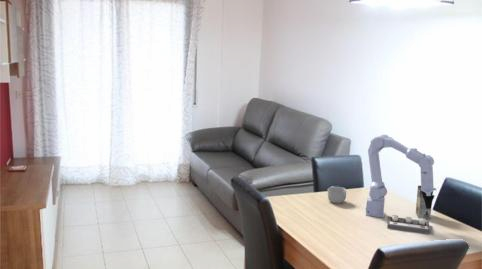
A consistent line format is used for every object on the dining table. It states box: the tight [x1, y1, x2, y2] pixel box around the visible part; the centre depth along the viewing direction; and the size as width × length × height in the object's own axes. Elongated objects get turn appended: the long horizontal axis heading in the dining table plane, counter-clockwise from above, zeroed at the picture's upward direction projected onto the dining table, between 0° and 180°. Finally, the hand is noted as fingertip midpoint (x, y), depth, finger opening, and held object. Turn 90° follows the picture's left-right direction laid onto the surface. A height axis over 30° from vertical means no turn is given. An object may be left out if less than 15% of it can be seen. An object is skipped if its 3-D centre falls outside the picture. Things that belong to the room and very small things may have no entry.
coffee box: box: [415, 185, 434, 220], centre depth 236 cm, size 9×6×16 cm
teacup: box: [327, 185, 347, 205], centre depth 259 cm, size 14×11×8 cm
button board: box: [387, 216, 431, 235], centre depth 222 cm, size 20×12×2 cm, turn 70°
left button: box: [391, 214, 399, 222], centre depth 225 cm, size 3×3×2 cm
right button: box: [418, 218, 427, 225], centre depth 220 cm, size 3×3×2 cm
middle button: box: [405, 216, 413, 223], centre depth 222 cm, size 3×3×2 cm
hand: (428, 206), depth 219 cm, fingers open, 7 cm apart
